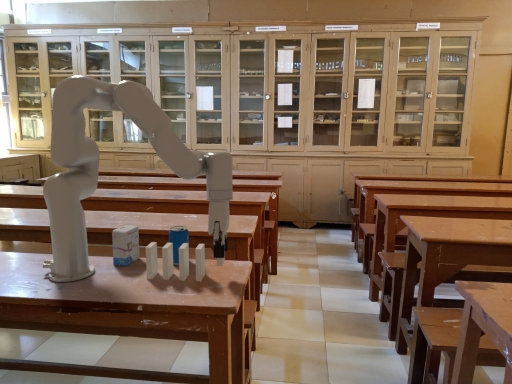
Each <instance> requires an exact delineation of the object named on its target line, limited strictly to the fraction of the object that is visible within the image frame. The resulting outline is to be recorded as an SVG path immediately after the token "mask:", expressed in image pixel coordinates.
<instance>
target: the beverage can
mask: <svg viewBox="0 0 512 384" xmlns="http://www.w3.org/2000/svg"><path fill="white" fill-rule="evenodd" d="M169 229H170V230H169V231H168V243H173V265H174V266H179V248H180V246H181V245H182V244H183V243H188V244H189V245H190V236H189V235H190V234H189V232H190V231H189V229H188V227H187V226H184V225H175V226H171V227H170V228H169Z"/></svg>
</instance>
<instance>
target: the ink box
mask: <svg viewBox="0 0 512 384" xmlns="http://www.w3.org/2000/svg"><path fill="white" fill-rule="evenodd" d="M139 230H140V229H139V225H131V224H128V225H127V224H125V225H123V226H120V227H118V228H115V229H113V230H112V231H111V232H112V233H111V235H112V239H111V240H112V256H113V257H112V263H113V266H121V267H122V266H123V267H127V266H129V265H130V264H132V263H133V262H135V261H136V260H138V259H140V241H139V240H140V237H139Z"/></svg>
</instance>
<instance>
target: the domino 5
mask: <svg viewBox="0 0 512 384" xmlns="http://www.w3.org/2000/svg"><path fill="white" fill-rule="evenodd" d="M219 234H222V232H219ZM219 238H221V236H219ZM223 244H224V245H225V235H224V241H223ZM225 261H226V256H225V257H224V258H216V266H218V267H222V266H223V265H224V263H225Z"/></svg>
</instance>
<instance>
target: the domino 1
mask: <svg viewBox="0 0 512 384" xmlns="http://www.w3.org/2000/svg"><path fill="white" fill-rule="evenodd" d="M145 261H146V262H145V265H146V266H145V267H146V280H153V279H154V278H155V277H156V276H157V274H158V273H159V269H158V268H159V267H158V266H159V264H158V243H157V242H156V241H151V242H150V243H149V244H148V245H147V246H145Z"/></svg>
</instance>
